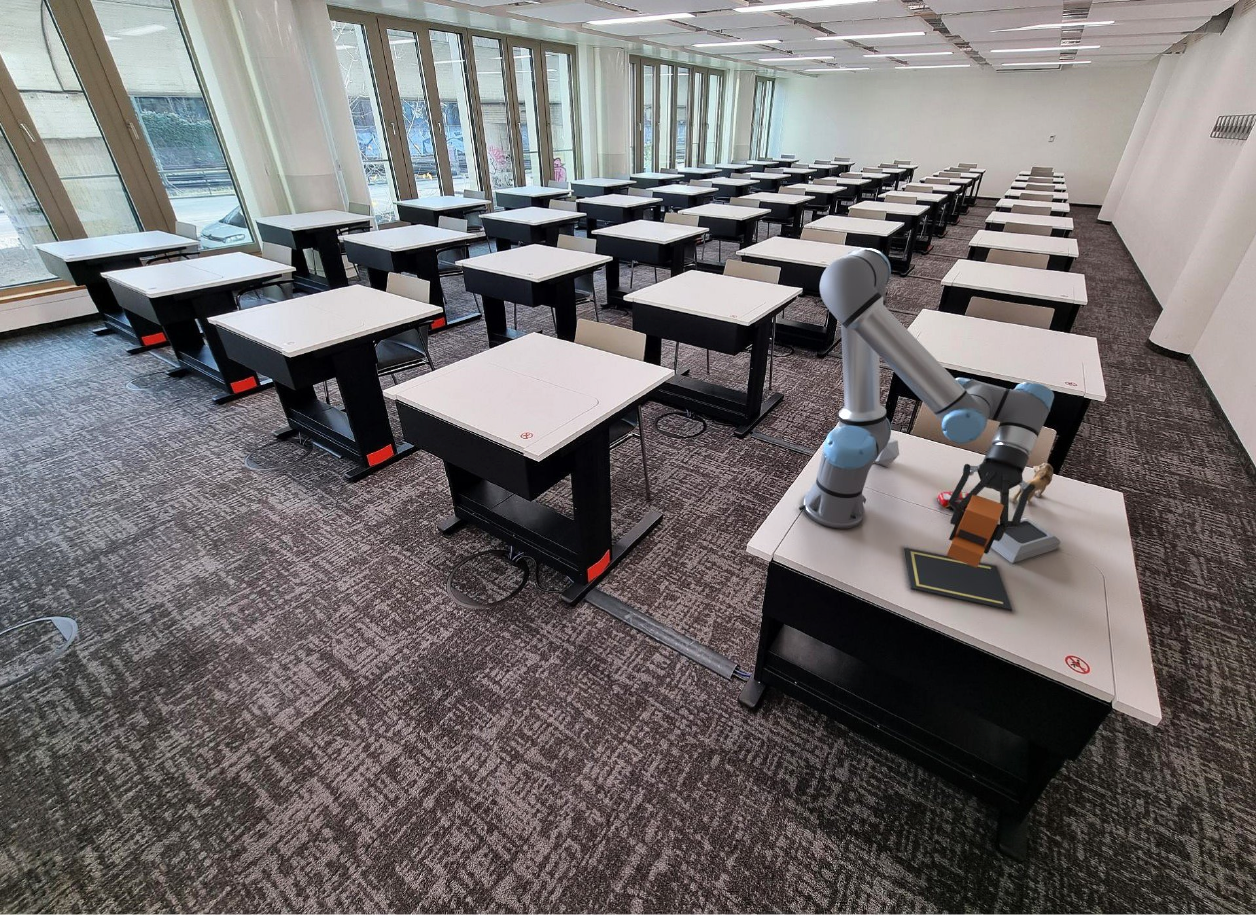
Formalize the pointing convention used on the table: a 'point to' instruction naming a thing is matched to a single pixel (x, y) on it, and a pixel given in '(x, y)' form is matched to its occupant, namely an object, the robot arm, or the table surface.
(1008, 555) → the grey low boxy piece
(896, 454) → the die
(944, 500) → the race car
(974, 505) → the toy van
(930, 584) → the mat
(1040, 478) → the lion figurine
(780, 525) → the table surface
